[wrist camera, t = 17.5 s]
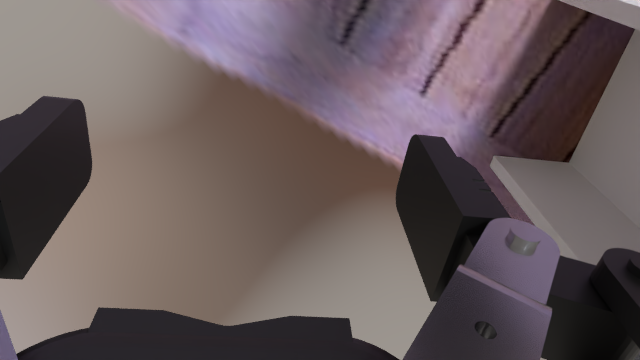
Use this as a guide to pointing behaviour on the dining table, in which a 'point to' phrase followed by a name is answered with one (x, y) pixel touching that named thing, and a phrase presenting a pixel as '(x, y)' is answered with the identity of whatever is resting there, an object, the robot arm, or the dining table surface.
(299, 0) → the dining table surface
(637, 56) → the tall cream box
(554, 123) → the dining table surface
